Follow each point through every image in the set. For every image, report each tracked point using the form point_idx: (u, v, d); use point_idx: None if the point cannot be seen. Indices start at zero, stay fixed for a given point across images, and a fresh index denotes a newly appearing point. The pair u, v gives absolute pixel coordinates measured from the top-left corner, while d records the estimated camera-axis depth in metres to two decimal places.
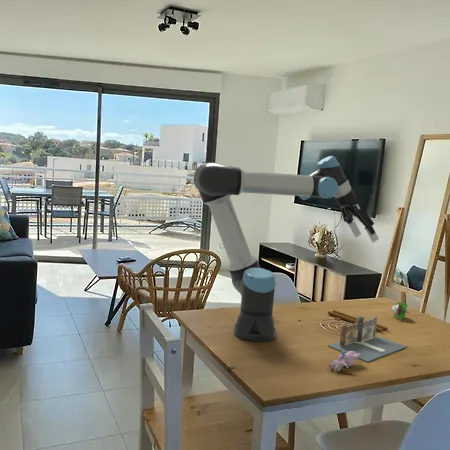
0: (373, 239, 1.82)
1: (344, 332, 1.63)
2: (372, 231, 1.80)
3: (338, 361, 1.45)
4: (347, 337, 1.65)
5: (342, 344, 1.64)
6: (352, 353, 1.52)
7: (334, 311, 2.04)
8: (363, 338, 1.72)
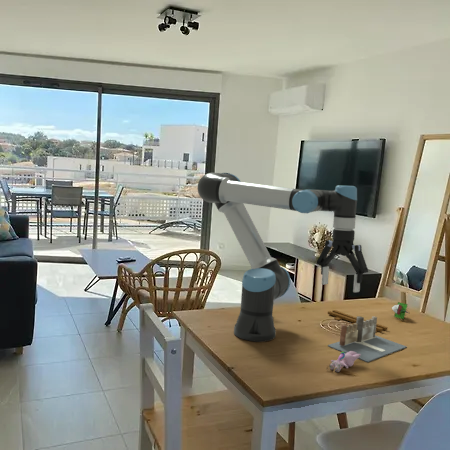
0: (356, 289, 1.63)
1: (344, 332, 1.63)
2: (360, 279, 1.63)
3: (338, 361, 1.45)
4: (347, 337, 1.65)
5: (342, 344, 1.64)
6: (352, 353, 1.52)
7: (334, 311, 2.04)
8: (363, 338, 1.72)
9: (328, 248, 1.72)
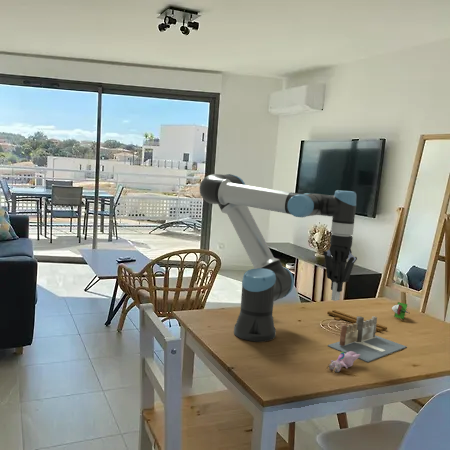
0: (336, 297, 1.67)
1: (344, 332, 1.63)
2: (340, 288, 1.66)
3: (337, 361, 1.45)
4: (347, 337, 1.65)
5: (342, 344, 1.64)
6: (352, 353, 1.51)
7: (334, 311, 2.04)
8: (363, 338, 1.72)
9: (329, 258, 1.70)
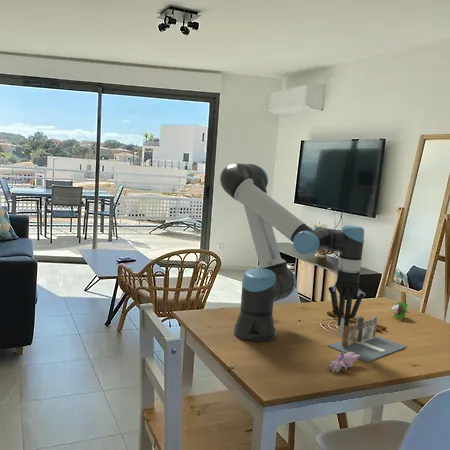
0: None
1: (347, 333, 1.63)
2: (348, 324, 1.65)
3: (337, 362, 1.45)
4: (349, 338, 1.65)
5: (345, 345, 1.63)
6: (351, 354, 1.51)
7: None
8: (363, 338, 1.72)
9: (335, 293, 1.67)
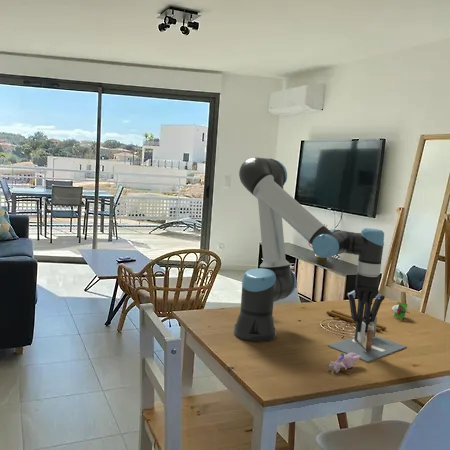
0: None
1: (372, 337, 1.60)
2: None
3: (336, 362, 1.44)
4: None
5: (370, 349, 1.61)
6: (352, 355, 1.50)
7: (333, 311, 2.04)
8: None
9: None
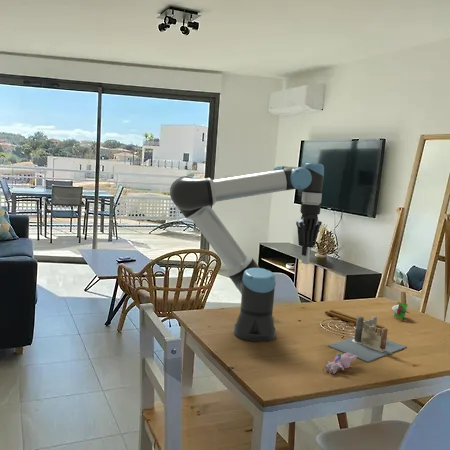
0: None
1: None
2: None
3: (334, 363, 1.44)
4: None
5: None
6: (349, 355, 1.50)
7: (331, 311, 2.03)
8: None
9: None
